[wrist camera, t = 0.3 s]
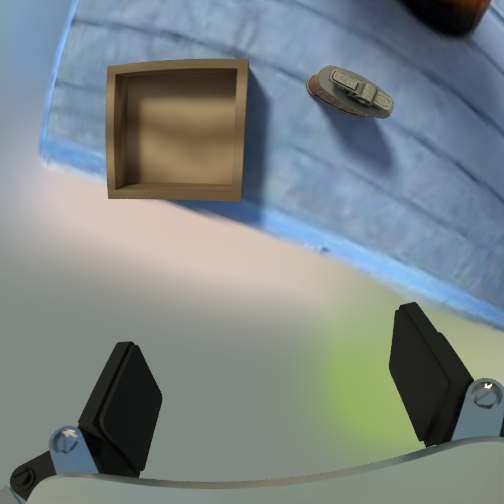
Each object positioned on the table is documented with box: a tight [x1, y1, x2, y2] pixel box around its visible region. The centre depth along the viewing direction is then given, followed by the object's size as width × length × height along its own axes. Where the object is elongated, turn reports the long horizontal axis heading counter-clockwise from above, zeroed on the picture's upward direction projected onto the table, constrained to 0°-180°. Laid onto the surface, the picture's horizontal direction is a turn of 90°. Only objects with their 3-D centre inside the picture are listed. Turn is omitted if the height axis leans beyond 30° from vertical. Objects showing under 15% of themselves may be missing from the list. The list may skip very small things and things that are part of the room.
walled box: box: [106, 59, 249, 202], centre depth 33 cm, size 15×15×5 cm
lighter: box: [306, 66, 393, 119], centre depth 29 cm, size 8×3×10 cm, turn 68°
